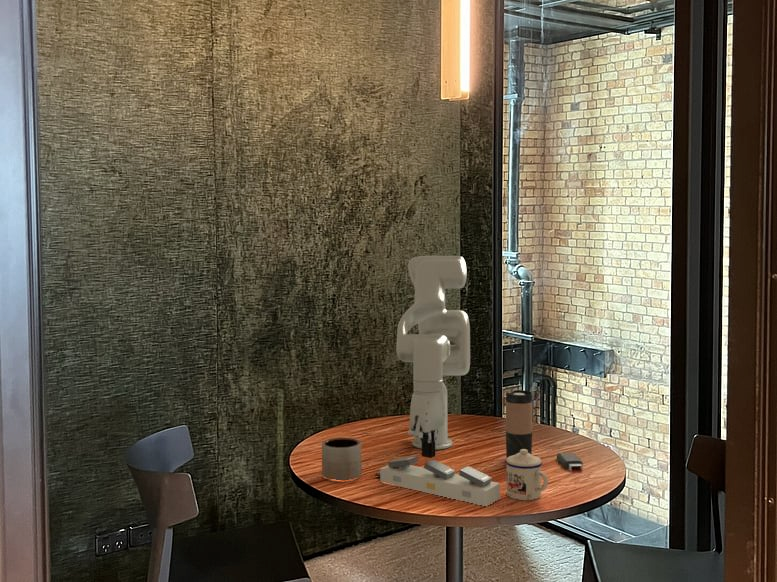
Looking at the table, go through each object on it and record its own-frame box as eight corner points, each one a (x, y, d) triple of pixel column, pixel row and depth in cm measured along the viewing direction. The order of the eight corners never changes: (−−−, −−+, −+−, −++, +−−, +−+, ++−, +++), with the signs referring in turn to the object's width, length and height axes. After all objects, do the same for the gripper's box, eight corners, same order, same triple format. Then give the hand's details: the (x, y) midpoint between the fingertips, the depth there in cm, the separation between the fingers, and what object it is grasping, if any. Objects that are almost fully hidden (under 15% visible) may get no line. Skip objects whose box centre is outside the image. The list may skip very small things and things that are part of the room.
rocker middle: (423, 467, 198) (424, 462, 198) (432, 464, 201) (433, 459, 201) (446, 479, 194) (447, 474, 194) (454, 475, 197) (455, 470, 197)
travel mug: (532, 464, 220) (532, 395, 218) (505, 463, 221) (505, 394, 220) (532, 457, 227) (532, 390, 226) (506, 456, 229) (506, 389, 227)
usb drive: (574, 460, 225) (574, 450, 225) (585, 472, 213) (585, 462, 213) (556, 460, 225) (556, 451, 225) (567, 473, 213) (567, 463, 213)
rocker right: (458, 475, 192) (460, 469, 191) (466, 471, 195) (468, 465, 195) (482, 487, 188) (484, 481, 188) (490, 482, 191) (491, 477, 191)
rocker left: (389, 467, 204) (387, 462, 205) (397, 463, 208) (396, 458, 208) (409, 465, 200) (408, 459, 201) (418, 461, 204) (417, 455, 204)
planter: (331, 485, 203) (331, 450, 203) (316, 474, 213) (315, 440, 212) (368, 479, 208) (368, 444, 208) (351, 468, 218) (351, 435, 217)
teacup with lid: (498, 494, 195) (498, 449, 194) (522, 486, 200) (522, 443, 200) (534, 507, 185) (534, 459, 185) (558, 498, 191) (559, 452, 190)
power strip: (368, 480, 207) (367, 462, 207) (383, 473, 213) (383, 456, 212) (486, 507, 186) (486, 487, 185) (500, 498, 191) (500, 479, 191)
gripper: (431, 380, 206) (432, 447, 207) (399, 389, 194) (400, 461, 195) (455, 383, 202) (455, 452, 203) (424, 392, 190) (424, 465, 191)
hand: (428, 456), depth 199 cm, fingers closed
